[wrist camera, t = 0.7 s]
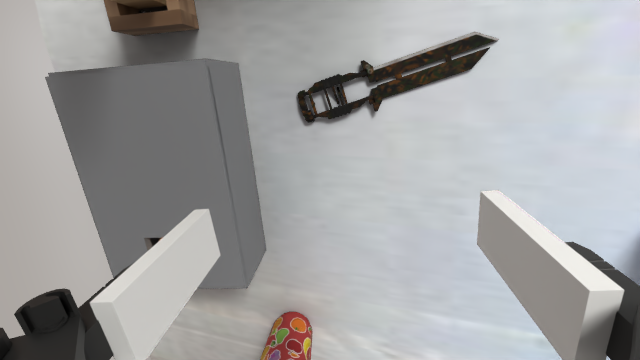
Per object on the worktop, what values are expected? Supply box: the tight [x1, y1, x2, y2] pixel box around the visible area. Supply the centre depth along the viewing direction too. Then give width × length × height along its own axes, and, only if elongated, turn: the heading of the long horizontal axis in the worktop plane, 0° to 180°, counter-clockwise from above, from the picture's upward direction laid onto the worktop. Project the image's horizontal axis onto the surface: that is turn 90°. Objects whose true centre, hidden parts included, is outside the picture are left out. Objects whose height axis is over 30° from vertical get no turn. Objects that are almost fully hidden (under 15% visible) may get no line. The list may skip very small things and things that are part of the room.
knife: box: [297, 32, 499, 122], centre depth 38 cm, size 25×6×1 cm, turn 103°
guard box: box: [45, 59, 266, 288], centre depth 40 cm, size 28×18×10 cm, turn 4°
